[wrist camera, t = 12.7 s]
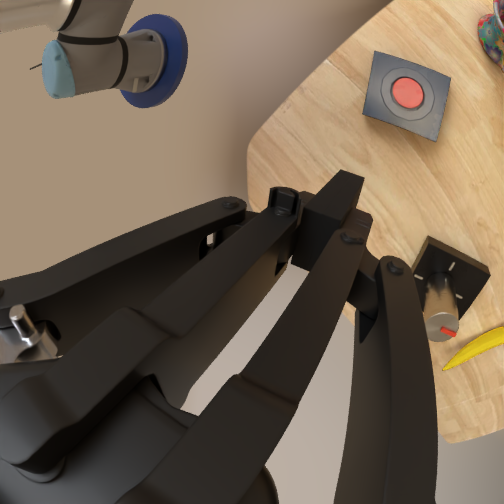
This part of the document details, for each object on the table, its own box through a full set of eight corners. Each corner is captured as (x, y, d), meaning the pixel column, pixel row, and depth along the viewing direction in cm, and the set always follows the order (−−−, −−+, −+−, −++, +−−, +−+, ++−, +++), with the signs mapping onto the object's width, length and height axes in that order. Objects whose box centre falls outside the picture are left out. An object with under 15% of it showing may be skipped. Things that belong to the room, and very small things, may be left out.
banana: (441, 346, 39) (439, 372, 35) (527, 309, 27) (534, 334, 22) (444, 355, 40) (443, 380, 35) (528, 320, 27) (535, 345, 22)
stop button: (390, 102, 25) (389, 101, 24) (395, 75, 23) (395, 73, 22) (418, 112, 24) (419, 112, 23) (424, 85, 22) (425, 84, 20)
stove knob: (418, 292, 35) (415, 336, 29) (433, 267, 32) (435, 308, 26) (444, 304, 34) (445, 348, 27) (460, 279, 31) (466, 322, 24)
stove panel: (398, 290, 40) (397, 300, 38) (427, 235, 33) (428, 243, 31) (454, 316, 36) (454, 327, 34) (487, 266, 29) (491, 276, 27)
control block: (364, 113, 30) (360, 114, 27) (375, 53, 25) (372, 47, 22) (434, 140, 27) (437, 144, 24) (448, 79, 22) (453, 76, 19)
